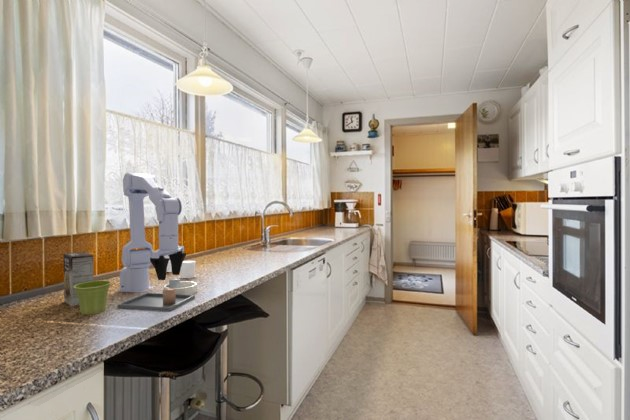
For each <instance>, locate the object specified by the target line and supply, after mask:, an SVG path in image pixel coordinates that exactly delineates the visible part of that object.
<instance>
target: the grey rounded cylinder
mask: <svg viewBox="0 0 630 420" xmlns="http://www.w3.org/2000/svg"><path fill="white" fill-rule="evenodd" d="M180 281H181V278H179V277H174V278H169V279H168V283H169V288H180Z"/></svg>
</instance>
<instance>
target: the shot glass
mask: <svg viewBox="0 0 630 420" xmlns="http://www.w3.org/2000/svg"><path fill="white" fill-rule="evenodd" d="M196 265H197V261H196V260H191V259H189V260H183V262H182V266H181V270H180V277H181V278H180V279H183V278H188V279H193V277H194V278H195V274H196Z"/></svg>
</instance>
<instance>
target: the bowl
mask: <svg viewBox="0 0 630 420" xmlns="http://www.w3.org/2000/svg"><path fill="white" fill-rule="evenodd" d="M197 286H198V284H197V282H196V281H192V280H191V281H189V280H188V281H187V280H184V281H183V280H182V281H181V280H180V288H175V289H176V294H184V295H195V294H196V293H197V292H198V290H197V288H198V287H197ZM166 288H169V282H168V283H166V284H164V286H163V289H166Z"/></svg>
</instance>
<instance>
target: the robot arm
mask: <svg viewBox="0 0 630 420" xmlns="http://www.w3.org/2000/svg"><path fill="white" fill-rule="evenodd" d="M122 188H123V195H124V196H125V197H127V198H128V210H129V211H128V212H129V230H130V231H129V232H130V235H129V236H130V240H129V241H128V243H126V244H125V245H123V247H122V252H121V263H122V265H123V266H124V267H122V269H121V270H120V272H119V290H118V292H125V293H144V292H147V291H148V290H151V289H153V288H155V286H150V267H151V266H153V269H154V270H155V274H156V276H157V277H156V278H157V281H166V278H167V273H166V271H167V265H168V262H169V260H170V261H171V269H172V272H171V274H172V276H174V275H175V276H179V275H180V274H181V271H180V270H181V266H182V262H183V261H185V258H186V256H187V253H186V252H185V246H184V245H179V216H180V215H181V213H182V210H183V209H182V207H183V206H182V202H181V200H180V198H179V197H172V195H170V193H169V192H168V191H167V190H166V189H165V188H164V187H163V186H158V184H157V177H156V175H155V174H154V173H144V172H143V173H140V172H139V173H138V172H131V171H130V172H129V171H127V172H126V173H124V175H123V178H122ZM146 197H148V199H149V200H150V201H151V202H152V204H153V205H154V207H155V208H154V210H155V213H156V220H157V222H158V246H159V247H158V249H156V250H153V249H154V248H153V245H152V244H151V243H150V242H148V241H146V232H145V231H146V229H145V210H144V208H145V207H144V199H145V198H146ZM167 255H168V256H169V258H165V257H164V256H167Z"/></svg>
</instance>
